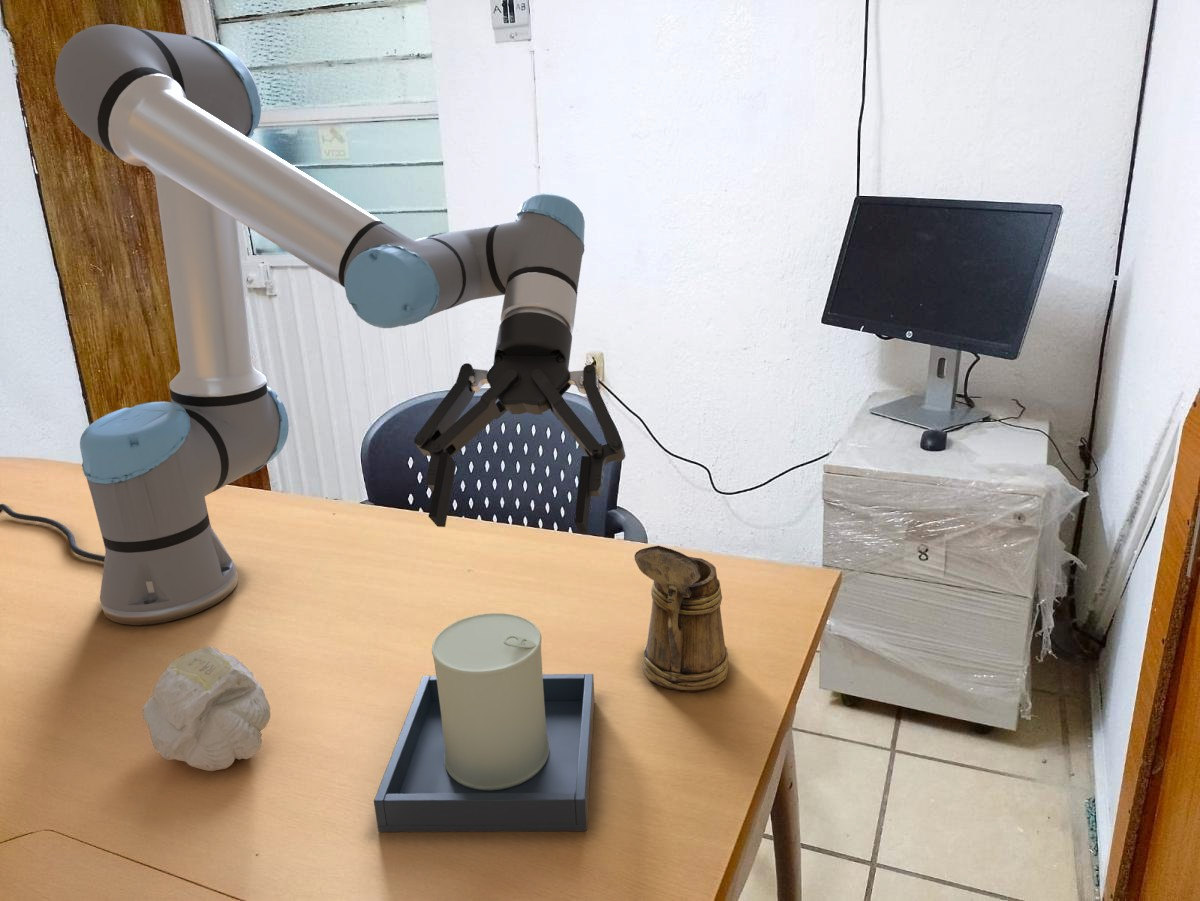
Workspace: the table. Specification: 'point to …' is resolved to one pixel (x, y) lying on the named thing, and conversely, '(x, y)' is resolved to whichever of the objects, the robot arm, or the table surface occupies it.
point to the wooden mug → (683, 621)
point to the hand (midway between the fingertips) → (507, 525)
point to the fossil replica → (207, 710)
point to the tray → (440, 804)
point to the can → (491, 700)
